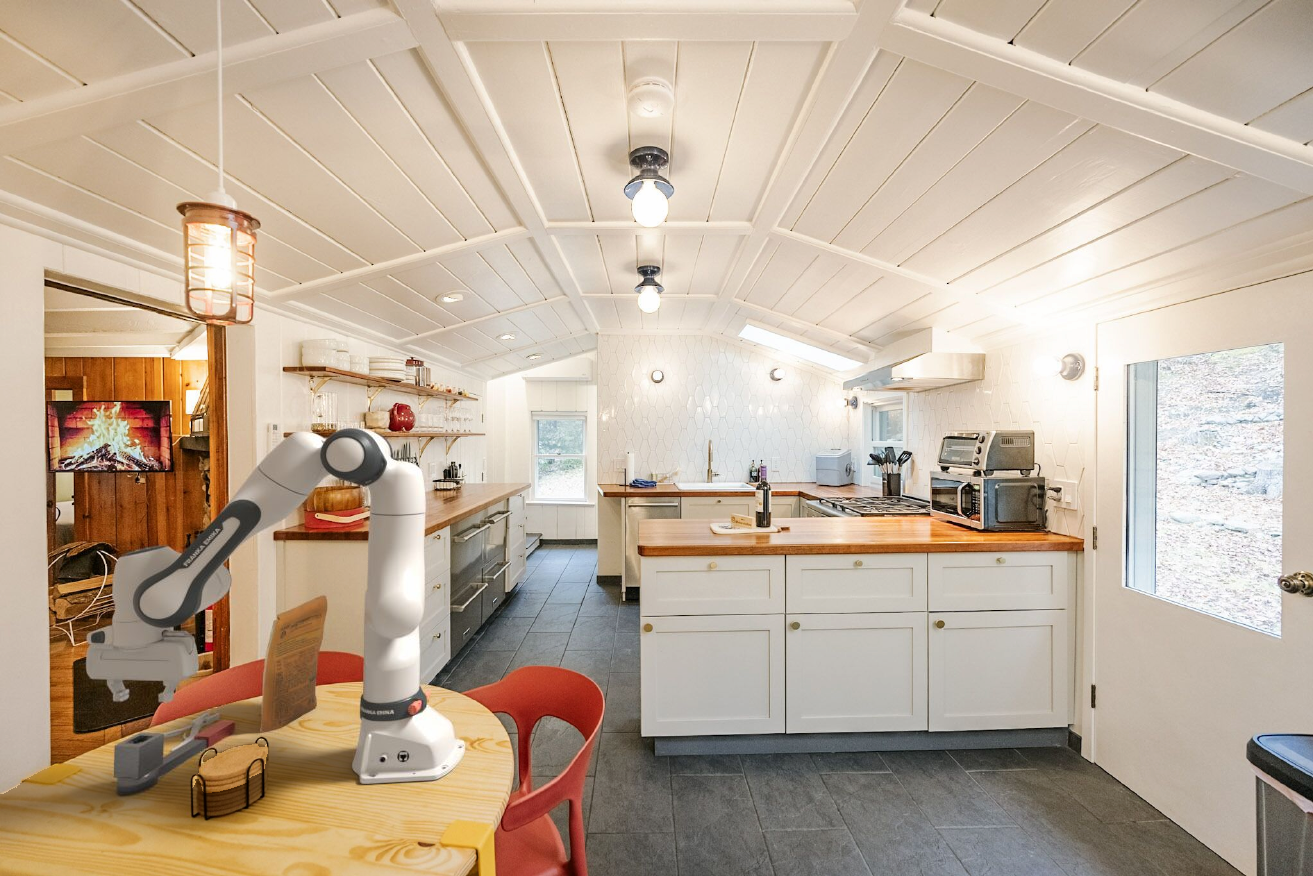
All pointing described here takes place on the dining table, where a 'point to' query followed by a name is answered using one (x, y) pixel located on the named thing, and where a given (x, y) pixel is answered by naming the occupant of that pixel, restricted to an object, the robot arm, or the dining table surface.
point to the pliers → (195, 726)
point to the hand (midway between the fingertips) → (143, 700)
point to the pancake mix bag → (292, 664)
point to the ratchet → (176, 758)
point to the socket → (138, 755)
